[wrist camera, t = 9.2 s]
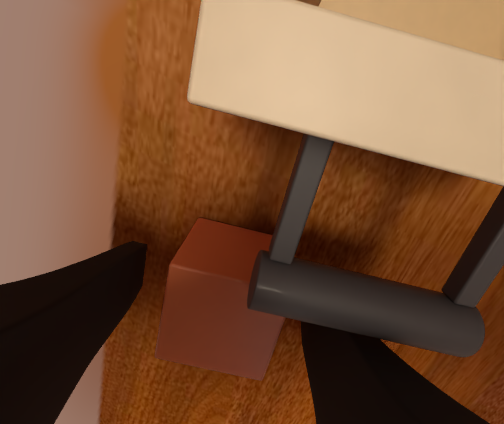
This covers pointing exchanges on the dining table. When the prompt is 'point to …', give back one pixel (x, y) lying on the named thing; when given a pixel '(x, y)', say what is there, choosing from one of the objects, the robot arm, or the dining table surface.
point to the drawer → (366, 139)
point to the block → (216, 303)
